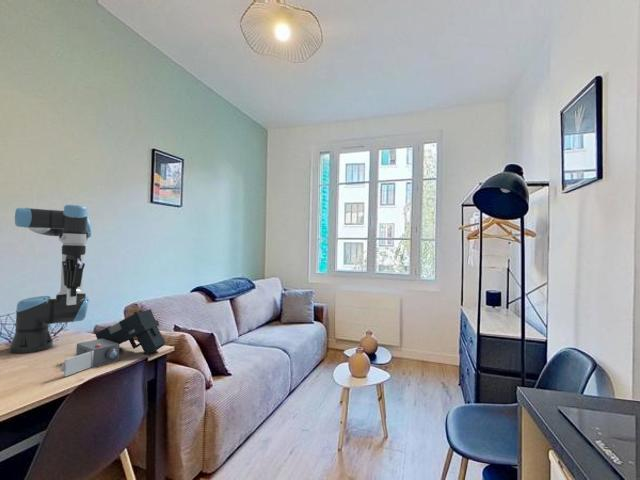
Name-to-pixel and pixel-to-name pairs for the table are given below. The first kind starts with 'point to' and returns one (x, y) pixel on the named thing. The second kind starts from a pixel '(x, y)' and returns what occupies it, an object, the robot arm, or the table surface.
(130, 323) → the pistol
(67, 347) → the table surface
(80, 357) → the door
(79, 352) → the camera body
